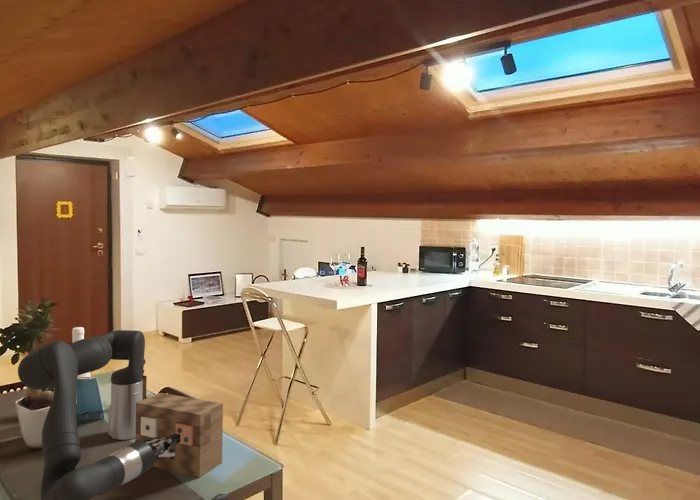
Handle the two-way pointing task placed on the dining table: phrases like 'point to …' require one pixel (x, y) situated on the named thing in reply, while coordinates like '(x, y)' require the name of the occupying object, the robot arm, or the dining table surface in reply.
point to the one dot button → (149, 426)
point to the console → (186, 411)
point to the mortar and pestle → (144, 385)
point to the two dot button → (185, 433)
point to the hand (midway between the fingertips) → (178, 437)
